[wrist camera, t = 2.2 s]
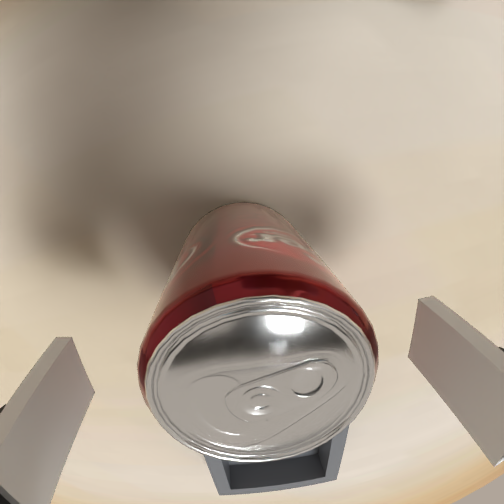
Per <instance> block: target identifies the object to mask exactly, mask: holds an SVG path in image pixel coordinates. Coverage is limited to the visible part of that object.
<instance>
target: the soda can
mask: <svg viewBox="0 0 504 504" xmlns="http://www.w3.org/2000/svg"><path fill="white" fill-rule="evenodd" d="M377 369H378V342H377V339H376V335H375V332H374V329H373V325H372V324H371V322H370V320H369V319H368V317H367V316H366V314H365V312H364V311H363V309H362V308H361V307H360V305H359V304H358V303H357V302H356V300H355V299H354V298H353V297H352V296H351V294H350V293H349V292H348V291H347V290H346V288H345V287H344V286H343V285H342V283H341V282H340V281H339V280H338V279H337V277H336V276H335V275H334V274H333V273H332V271H331V270H330V269H329V268H328V267H327V266H326V264H325V263H324V262H323V261H322V260H321V258H320V257H319V256H318V255H317V254H316V253H315V251H314V250H313V249H312V248H311V247H310V246H309V244H308V243H307V242H306V241H305V240H304V239H303V237H302V236H301V235H300V234H299V233H298V232H297V231H296V229H295V228H294V227H293V226H292V225H291V224H290V223H289V222H288V221H287V220H286V219H285V218H284V217H283V216H282V215H281V214H279V213H277V212H276V211H274V210H272V209H271V208H268V207H265V206H262V205H259V204H254V203H246V202H243V203H232V204H228V205H225V206H221V207H219V208H217V209H215V210H213V211H211V212H209V213H208V214H206V215H205V216H204V217H203V218H201V219H200V220H199V221H198V222H197V223H196V225H195V226H194V227H193V228H192V229H191V231H190V233H189V235H188V237H187V239H186V241H185V243H184V245H183V247H182V249H181V252H180V254H179V256H178V258H177V261H176V263H175V265H174V267H173V269H172V272H171V274H170V276H169V279H168V281H167V283H166V285H165V288H164V290H163V292H162V295H161V297H160V299H159V302H158V304H157V307H156V309H155V311H154V314H153V316H152V319H151V321H150V323H149V326H148V328H147V331H146V333H145V336H144V338H143V341H142V343H141V346H140V351H139V357H138V362H137V370H138V381H139V386H140V389H141V392H142V395H143V398H144V400H145V403H146V405H147V406H148V408H149V409H150V411H151V412H152V414H153V415H154V417H155V418H156V419H157V421H158V422H159V424H160V425H161V426H162V427H163V428H164V429H165V430H166V431H167V432H168V433H169V434H170V435H171V436H172V437H173V438H174V439H176V440H177V441H179V442H180V443H182V444H183V445H185V446H186V447H188V448H190V449H192V450H195V451H197V452H199V453H201V454H204V455H207V456H210V457H214V458H217V459H221V460H227V461H234V462H267V461H276V460H281V459H285V458H289V457H293V456H296V455H299V454H302V453H305V452H307V451H310V450H312V449H314V448H316V447H318V446H320V445H322V444H324V443H326V442H328V441H329V440H330V439H332V438H333V437H335V436H336V435H338V434H339V433H340V432H342V431H343V430H344V429H345V428H346V427H347V426H348V425H349V424H350V423H351V422H352V421H353V420H354V419H355V418H356V416H357V415H358V414H359V412H360V411H361V410H362V408H363V407H364V405H365V403H366V401H367V399H368V397H369V395H370V393H371V390H372V387H373V384H374V382H375V378H376V373H377Z"/></svg>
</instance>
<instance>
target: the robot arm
mask: <svg viewBox="0 0 504 504" xmlns="http://www.w3.org/2000/svg"><path fill="white" fill-rule="evenodd" d="M408 358H409V359H410V360H411V361H412V362H413V364H414V365H415V366H416V367H417V368H418V370H419V371H420V372H421V373H422V374H423V376H424V377H425V378H426V379H427V380H428V382H429V383H430V384H431V385H432V387H433V388H434V389H435V390H436V392H437V393H438V394H439V395H440V397H441V398H442V399H443V400H444V402H445V403H446V404H447V405H448V407H449V408H450V409H451V410H452V412H453V413H454V414H455V416H456V417H457V418H458V419H459V421H460V422H461V423H462V425H463V426H464V427H465V429H466V430H467V431H468V432H469V434H470V435H471V436H472V438H473V439H474V440H475V442H476V443H477V444H478V446H479V447H480V448H481V450H482V451H483V453H484V454H485V455H486V457H487V458H488V459H489V461H490V462H491V464H492V465H493V466H494V467H495V466H497V465H498V464H499V463H501V462H502V461H504V349H503V348H501V347H497V346H496V345H495V344H494V343H492V342H491V341H490V340H489V339H488V338H486V337H485V336H484V335H483V334H482V333H480V332H479V331H478V330H477V329H475V328H474V327H473V326H472V325H470V324H469V323H468V322H467V321H465V320H464V319H463V318H462V317H460V316H459V315H458V314H456V313H455V312H454V311H453V310H451V309H450V308H449V307H447V306H446V305H445V304H444V303H442V302H441V301H440V300H438V299H437V298H436V297H434V296H430V297H425V298H421V299H418V305H417V311H416V318H415V323H414V329H413V334H412V340H411V345H410V349H409V354H408ZM94 393H95V391H94V389H93V387H92V385H91V383H90V380H89V378H88V376H87V374H86V371H85V369H84V367H83V364H82V362H81V359H80V357H79V354H78V352H77V349H76V347H75V344H74V342H73V339H72V337H56V338H55V339H54V340H53V342H52V343H51V344H50V345H49V347H48V348H47V349H46V351H45V352H44V353H43V355H42V356H41V357H40V358H39V360H38V361H37V362H36V364H35V365H34V366H33V368H32V369H31V370H30V372H29V373H28V375H27V376H26V377H25V379H24V380H23V381H22V383H21V384H20V386H19V387H18V388H17V390H16V391H15V393H14V394H13V396H12V397H11V399H10V400H9V401H8V403H7V404H5V405H4V406H3V407H1V408H0V504H50V503H51V500H52V497H53V495H54V492H55V489H56V486H57V483H58V481H59V478H60V475H61V472H62V470H63V467H64V465H65V462H66V459H67V457H68V454H69V452H70V449H71V447H72V444H73V442H74V439H75V437H76V435H77V432H78V430H79V427H80V425H81V423H82V420H83V418H84V416H85V414H86V411H87V409H88V407H89V404H90V402H91V400H92V398H93V396H94Z"/></svg>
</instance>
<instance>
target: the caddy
mask: <svg viewBox="0 0 504 504" xmlns="http://www.w3.org/2000/svg"><path fill="white" fill-rule="evenodd" d="M348 428H349V425H348V426H347V427H346V428H345V429H344V430H343V431H342V432H340V433H339V434H338V435H336V436H335V437H333V438H332V439H330V440H329V441H328V442H326V443H324V444H322V445H320V446H318V447H316V448H314V449H312V450H310V451H307V452H305V453H302V454H299V455H296V456H293V457H289V458H285V459H281V460H276V461H267V462H234V461H227V460H221V459H217V458H214V457H210V456H207V455H204V457H205V460H206V462H207V465H208V468H209V470H210V473H211V475H212V478H213V481H214V483H215V486H216V488H217V491H218V493H219V495H236V494H250V493H260V492H269V491H277V490H284V489H291V488H297V487H303V486H309V485H314V484H319V483H324V482H328V481H333V480H336V479H337V475H338V471H339V468H340V464H341V459H342V455H343V451H344V447H345V442H346V438H347V433H348Z"/></svg>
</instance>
